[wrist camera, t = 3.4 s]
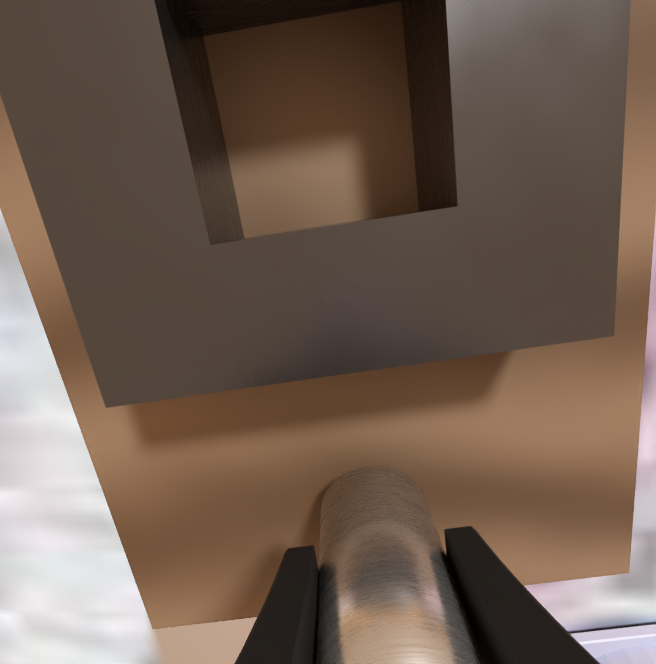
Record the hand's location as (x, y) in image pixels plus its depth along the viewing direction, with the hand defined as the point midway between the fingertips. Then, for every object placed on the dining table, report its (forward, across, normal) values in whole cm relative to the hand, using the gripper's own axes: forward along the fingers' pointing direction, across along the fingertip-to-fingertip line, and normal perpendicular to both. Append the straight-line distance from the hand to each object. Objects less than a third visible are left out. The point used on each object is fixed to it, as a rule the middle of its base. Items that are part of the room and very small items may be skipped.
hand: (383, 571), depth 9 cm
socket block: (+4, 0, -10) cm, 11 cm away
